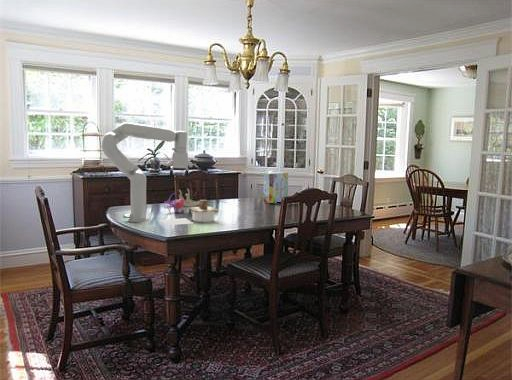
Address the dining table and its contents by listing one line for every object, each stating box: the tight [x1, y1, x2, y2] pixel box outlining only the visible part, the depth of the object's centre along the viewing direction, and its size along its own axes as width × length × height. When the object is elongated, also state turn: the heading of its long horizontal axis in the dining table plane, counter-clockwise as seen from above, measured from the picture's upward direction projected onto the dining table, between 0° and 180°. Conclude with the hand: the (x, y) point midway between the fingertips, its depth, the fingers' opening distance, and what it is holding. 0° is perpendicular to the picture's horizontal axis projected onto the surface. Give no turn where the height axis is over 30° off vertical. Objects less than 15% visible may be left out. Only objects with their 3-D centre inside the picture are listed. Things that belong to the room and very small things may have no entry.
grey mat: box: [159, 217, 195, 226], centre depth 272 cm, size 18×18×1 cm
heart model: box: [163, 192, 185, 213], centre depth 307 cm, size 15×9×18 cm
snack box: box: [262, 171, 289, 204], centre depth 366 cm, size 22×9×26 cm, turn 130°
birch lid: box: [188, 199, 219, 213], centre depth 279 cm, size 15×15×6 cm
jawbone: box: [178, 187, 199, 208], centre depth 333 cm, size 25×10×14 cm, turn 51°
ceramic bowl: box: [191, 210, 215, 223], centre depth 280 cm, size 13×13×7 cm
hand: (178, 176), depth 278 cm, fingers open, 9 cm apart
